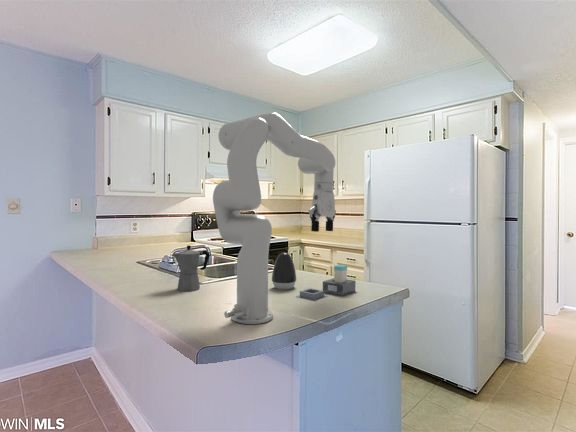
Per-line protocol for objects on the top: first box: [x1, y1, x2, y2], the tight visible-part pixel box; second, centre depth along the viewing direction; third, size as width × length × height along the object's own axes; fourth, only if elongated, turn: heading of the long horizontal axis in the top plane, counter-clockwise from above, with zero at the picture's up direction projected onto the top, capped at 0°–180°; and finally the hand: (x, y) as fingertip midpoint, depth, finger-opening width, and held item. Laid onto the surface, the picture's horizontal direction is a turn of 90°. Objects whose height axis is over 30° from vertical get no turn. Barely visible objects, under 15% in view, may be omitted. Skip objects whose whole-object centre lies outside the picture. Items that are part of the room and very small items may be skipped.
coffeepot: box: [172, 244, 211, 293], centre depth 138 cm, size 15×9×18 cm, turn 121°
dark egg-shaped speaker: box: [271, 252, 297, 291], centre depth 139 cm, size 10×10×15 cm
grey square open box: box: [295, 287, 329, 302], centre depth 125 cm, size 9×9×3 cm
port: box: [322, 277, 356, 297], centre depth 132 cm, size 10×9×5 cm
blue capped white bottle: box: [333, 264, 348, 283], centre depth 132 cm, size 4×4×10 cm
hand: (322, 231), depth 133 cm, fingers open, 9 cm apart
